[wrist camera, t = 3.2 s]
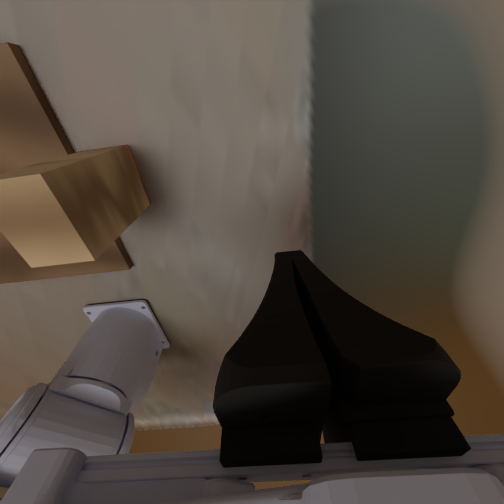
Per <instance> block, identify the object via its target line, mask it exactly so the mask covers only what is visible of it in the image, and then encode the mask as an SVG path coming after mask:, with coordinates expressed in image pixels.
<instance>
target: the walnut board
mask: <svg viewBox="0 0 504 504" xmlns="http://www.w3.org/2000/svg"><path fill="white" fill-rule="evenodd" d="M73 153H74V151H73V149H72V147H71V145H70V143H69V142H68V140H67V138H66V136H65V134H64V132H63V130H62V128H61V126H60V124H59V122H58V121H57V119H56V117H55V115H54V113H53V111H52V109H51V107H50V105H49V103H48V101H47V100H46V98H45V96H44V94H43V92H42V90H41V88H40V86H39V84H38V82H37V80H36V79H35V77H34V75H33V73H32V71H31V69H30V67H29V65H28V63H27V61H26V59H25V58H24V56H23V54H22V52H21V50H20V48H19V46H18V45H15V44H12V43H8V42H6V43H0V174H1V173H5V172H9V171H12V170H16V169H19V168H23V167H26V166H30V165H34V164H37V163H41V162H44V161H48V160H51V159H55V158H59V157H62V156H66V155H69V154H73ZM132 266H133V264H132V262H131V260H130V258H129V256H128V254H127V252H126V250H125V249H124V247H123V245H122V243H121V241H120V239H119V237H118V238H117V239H116V240H115V241H114V242H113V243H112V244H111V245H110V246H109V247H108V248H107V249H106V250H105V251H104V252H103V253H102V254H101V255H100V256H99V257H98V258H97V259H96V260H95V261H87V262H78V263H69V264H61V265H52V266H43V267H34V268H31V267H30V266H29V264H28V263H27V262H26V261H25V260H24V258H23V257H22V256H21V255H20V254H19V253H18V251H17V250H16V249H15V248H14V247H13V245H12V244H11V243H10V242H9V241H8V240H7V238H6V237H5V236H4V235H3V234H2V232H1V231H0V284H3V283H12V282H21V281H30V280H39V279H48V278H57V277H66V276H76V275H85V274H94V273H103V272H112V271H121V270H130V269H131V267H132Z"/></svg>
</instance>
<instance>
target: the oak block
mask: <svg viewBox="0 0 504 504" xmlns="http://www.w3.org/2000/svg"><path fill="white" fill-rule="evenodd" d="M150 204H151V203H150V200H149V197H148V195H147V192H146V190H145V187H144V185H143V182H142V180H141V177H140V175H139V172H138V169H137V167H136V164H135V162H134V159H133V157H132V154H131V152H130V149H129V147H128V145H122V146H115V147H108V148H101V149H94V150H87V151H80V152H76V153H73V154H69V155H66V156H62V157H59V158H55V159H51V160H48V161H44V162H41V163H37V164H34V165H30V166H26V167H23V168H19V169H16V170H12V171H9V172H5V173H1V174H0V231H1V232H2V234H3V235H4V236H5V237H6V238H7V240H8V241H9V242H10V243H11V244H12V245H13V247H14V248H15V249H16V250H17V251H18V253H19V254H20V255H21V256H22V257H23V258H24V260H25V261H26V262H27V263H28V264H29V266H30V267H31V268H34V267H43V266H52V265H61V264H69V263H78V262H87V261H95V260H96V259H97V258H98V257H99V256H100V255H101V254H102V253H103V252H104V251H105V250H106V249H107V248H108V247H109V246H110V245H111V244H112V243H113V242H114V241H115V240H116V239H117V238H118V237H119V236H120V235H121V234H122V233H123V232H124V231H125V230H126V229H127V228H128V227H129V226H130V225H131V224H132V222H133V221H134V220H135V219H136V218H137V217H138V216H139V215H140V214H141V213H142V212H143V211H144V210H145V209H146V208H147V207H148V206H149V205H150Z"/></svg>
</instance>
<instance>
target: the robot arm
mask: <svg viewBox="0 0 504 504" xmlns="http://www.w3.org/2000/svg"><path fill="white" fill-rule="evenodd" d="M83 311H84V312H85V313H86V315H87V316H88V317H89V318H90V320H91V321H92V322H93V323H92V324H91V326H90V327H89V329H88V330H87V331H86V333H85V334H84V336H83V337H82V339H81V340H80V341H79V343H78V344H77V346H76V347H75V348H74V350H73V351H72V353H71V354H70V355H69V357H68V358H67V360H66V361H65V362H64V364H63V365H62V367H61V368H60V369H59V371H58V372H57V374H56V375H55V376H54V378H53V379H52V381H51V382H50V383H49V384H44V383H39V384H37V385H36V386H33V387H30V388H28V389H27V390H26V391H25V392H24V393H23V394H22V395H21V396H20V397H19V398H18V400H17V401H16V402H15V403H14V404H13V405H12V407H11V408H10V409H9V410H8V411H7V413H6V414H5V415H4V416H3V418H2V419H1V420H0V487H5V488H9V490H8V491H7V493H6V494H5V496H4V498H0V504H504V434H493V435H474V436H463V435H462V433H461V432H460V430H459V429H458V427H457V425H456V424H455V422H454V421H453V419H452V418H451V416H453V415H454V411H453V409H452V408H451V406H450V405H449V404H448V402H447V400H446V399H447V398H448V396H449V395H450V393H451V392H452V391H453V390H454V389H455V387H456V386H457V385H458V383H459V381H460V378H461V371H460V369H459V368H458V367H457V366H456V365H455V363H454V362H453V361H452V359H451V358H450V356H449V355H448V354H447V353H446V351H445V350H444V349H443V348H442V347H441V346H440V345H439V343H437V341H436V340H435V339H434V338H431V337H429V336H426V335H424V334H422V333H420V332H417V331H415V330H413V329H410V328H408V327H406V326H404V325H401V324H399V323H397V322H395V321H393V320H391V319H389V318H387V317H385V316H383V315H382V314H379V313H378V312H376V311H374V310H373V309H371V308H369V307H368V306H366V305H364V304H363V303H361V302H359V301H358V300H356V299H355V298H353V297H352V296H350V295H349V294H348V293H346V292H345V291H343V290H342V289H341V288H340V287H338V286H337V285H335V283H333V282H332V281H331V280H330V279H329V278H328V277H326V276H325V275H324V274H323V273H322V272H321V271H320V270H319V269H318V268H317V267H316V266H315V265H314V264H313V263H312V262H311V261H310V260H309V258H308V257H307V256H306V255H305V254H304V253H303V252H302V251H301V250H297V251H287V252H277V253H276V254H275V264H274V269H273V273H272V277H271V280H270V283H269V286H268V289H267V291H266V294H265V296H264V298H263V300H262V302H261V304H260V306H259V308H258V310H257V312H256V314H255V315H254V317H253V319H252V320H251V322H250V323H249V325H248V326H247V328H246V329H245V331H244V332H243V333H242V335H241V336H240V338H239V339H238V340H237V341H236V342H235V344H234V345H233V346H232V347H231V349H230V350H229V351H228V352H227V353H226V355H225V356H224V359H223V362H222V365H221V367H220V371H219V374H218V378H217V382H216V386H215V394H214V402H213V409H214V413H215V415H216V417H217V419H218V421H219V423H220V425H221V427H222V436H221V448H220V449H214V450H195V451H177V452H157V453H141V454H140V453H138V454H128V453H129V450H130V447H131V444H132V441H133V437H134V432H135V424H134V416H133V414H132V413H130V412H129V411H131V410H132V409H134V408H135V407H136V406H137V405H138V404H139V403H140V402H141V401H142V399H143V398H144V396H145V395H146V393H147V391H148V389H149V387H150V384H151V381H152V378H153V375H154V372H155V369H156V367H157V364H158V361H159V358H160V355H161V352H162V349H166V348H169V346H170V344H169V342H168V340H167V338H166V336H165V335H164V333H163V331H162V329H161V327H160V325H159V323H158V322H157V320H156V318H155V316H154V314H153V312H152V311H151V309H150V307H149V305H148V303H147V302H146V301H145V300H136V301H126V302H116V303H106V304H96V305H87V306H85V307H84V308H83ZM322 431H323V436H324V442H325V444H320V440H321V434H322ZM313 479H314V480H313ZM290 480H311V481H310V482H309V483H305V484H297V485H290V486H282V487H275V488H267V489H260V490H255V486H254V485H253V484H252V483H249V482H266V481H267V482H268V481H290Z"/></svg>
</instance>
